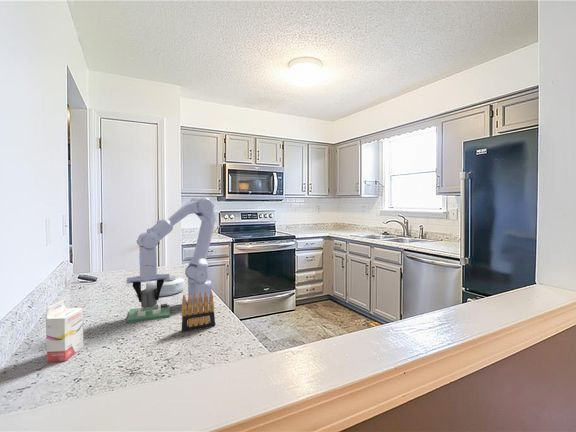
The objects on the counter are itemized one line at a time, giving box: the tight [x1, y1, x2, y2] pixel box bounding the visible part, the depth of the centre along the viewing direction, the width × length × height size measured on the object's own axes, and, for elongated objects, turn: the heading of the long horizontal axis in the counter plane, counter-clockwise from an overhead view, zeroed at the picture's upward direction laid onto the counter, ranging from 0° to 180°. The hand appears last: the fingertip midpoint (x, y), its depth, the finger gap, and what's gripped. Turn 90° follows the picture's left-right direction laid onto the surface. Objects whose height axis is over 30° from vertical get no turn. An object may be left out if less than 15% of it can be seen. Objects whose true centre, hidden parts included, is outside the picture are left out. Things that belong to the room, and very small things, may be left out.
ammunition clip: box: [181, 290, 216, 333], centre depth 102 cm, size 11×2×12 cm, turn 115°
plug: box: [140, 287, 158, 308], centre depth 114 cm, size 4×5×6 cm
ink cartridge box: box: [45, 298, 84, 363], centre depth 85 cm, size 9×5×15 cm, turn 5°
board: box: [126, 303, 171, 324], centre depth 115 cm, size 14×12×2 cm
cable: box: [145, 274, 186, 297], centre depth 145 cm, size 18×18×6 cm
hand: (149, 300), depth 114 cm, fingers closed on plug, 5 cm apart
